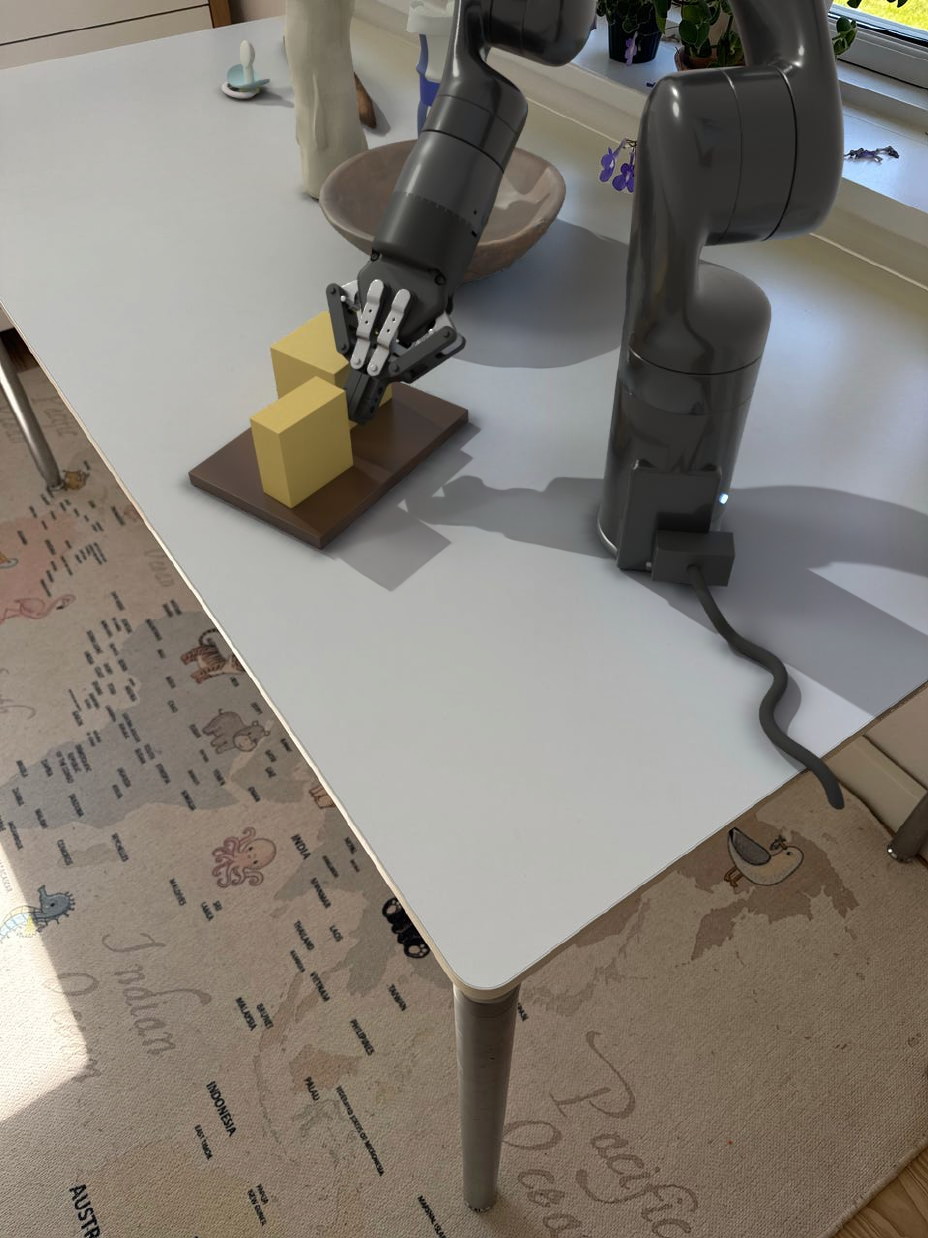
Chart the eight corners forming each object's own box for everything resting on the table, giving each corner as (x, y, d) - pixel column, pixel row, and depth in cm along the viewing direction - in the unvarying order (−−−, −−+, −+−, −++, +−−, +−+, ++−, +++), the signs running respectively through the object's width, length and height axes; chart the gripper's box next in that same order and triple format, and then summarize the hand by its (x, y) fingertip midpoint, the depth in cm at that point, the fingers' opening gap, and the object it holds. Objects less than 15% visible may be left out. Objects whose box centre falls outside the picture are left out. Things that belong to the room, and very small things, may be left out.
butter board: (345, 369, 94) (344, 358, 93) (468, 420, 88) (468, 409, 87) (190, 483, 82) (187, 472, 82) (321, 550, 77) (319, 538, 76)
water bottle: (401, 180, 121) (389, -65, 102) (466, 168, 123) (466, -74, 105) (426, 209, 116) (418, -44, 97) (494, 195, 118) (499, -54, 100)
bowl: (496, 193, 118) (498, 118, 112) (605, 292, 103) (614, 210, 97) (295, 237, 111) (284, 158, 105) (379, 350, 96) (373, 266, 90)
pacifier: (237, 105, 137) (276, 94, 139) (228, 56, 132) (268, 45, 135) (214, 89, 141) (252, 78, 143) (204, 40, 136) (243, 30, 139)
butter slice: (325, 449, 84) (316, 375, 78) (353, 465, 82) (345, 390, 77) (263, 492, 80) (248, 417, 75) (291, 508, 78) (278, 433, 73)
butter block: (331, 371, 91) (324, 309, 87) (392, 397, 89) (388, 334, 84) (279, 408, 87) (269, 346, 83) (341, 437, 85) (334, 374, 80)
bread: (269, 44, 153) (264, 7, 149) (300, 39, 154) (296, 3, 151) (357, 137, 129) (354, 96, 126) (393, 130, 131) (391, 89, 127)
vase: (351, 168, 123) (326, -132, 101) (385, 194, 118) (367, -115, 96) (288, 185, 120) (247, -121, 98) (320, 213, 115) (286, -103, 93)
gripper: (346, 168, 77) (261, 381, 79) (490, 213, 72) (395, 439, 74) (393, 209, 84) (313, 404, 86) (527, 253, 78) (439, 459, 81)
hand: (351, 420), depth 80 cm, fingers closed
